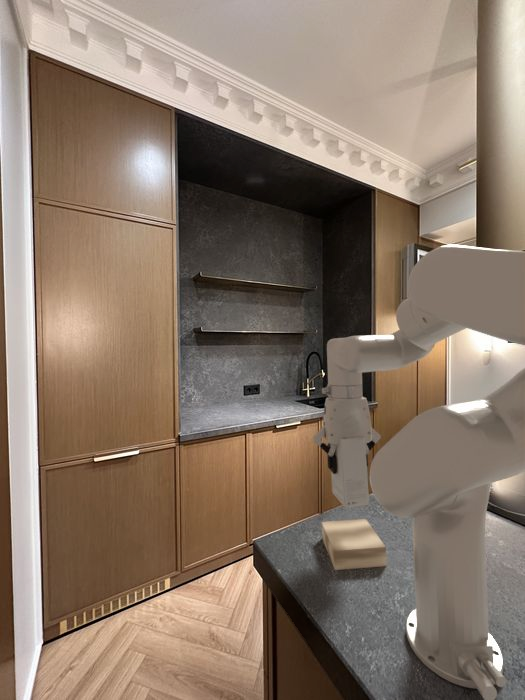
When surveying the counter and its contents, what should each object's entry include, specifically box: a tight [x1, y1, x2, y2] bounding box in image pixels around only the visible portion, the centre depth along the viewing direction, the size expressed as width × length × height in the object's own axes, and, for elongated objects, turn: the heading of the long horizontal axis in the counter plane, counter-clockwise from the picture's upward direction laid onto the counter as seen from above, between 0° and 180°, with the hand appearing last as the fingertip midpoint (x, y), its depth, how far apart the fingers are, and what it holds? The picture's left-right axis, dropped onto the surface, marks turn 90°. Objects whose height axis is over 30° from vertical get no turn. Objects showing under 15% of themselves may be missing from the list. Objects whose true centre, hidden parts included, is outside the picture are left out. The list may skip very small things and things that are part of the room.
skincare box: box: [330, 437, 370, 509], centre depth 71 cm, size 8×6×15 cm
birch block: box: [321, 518, 387, 571], centre depth 71 cm, size 11×11×4 cm
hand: (347, 470), depth 71 cm, fingers closed on skincare box, 6 cm apart
